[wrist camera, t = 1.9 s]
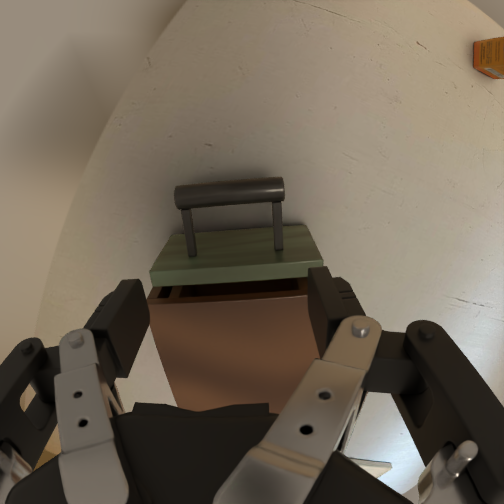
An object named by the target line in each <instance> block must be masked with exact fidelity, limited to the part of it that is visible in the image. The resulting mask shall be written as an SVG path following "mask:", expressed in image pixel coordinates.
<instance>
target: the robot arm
mask: <svg viewBox="0 0 504 504" xmlns="http://www.w3.org/2000/svg"><path fill="white" fill-rule="evenodd" d="M307 302H308V314H309V318H310V322H311V326H312V329H313V333H314V337H315V341H316V345H317V348H318V352H319V356H320V359H319V358H315V359H314V360H313V361H312V363H311V364H310V366H309V368H308V369H307V371H306V373H305V374H304V376H303V378H302V379H301V381H300V383H299V384H298V386H297V387H296V389H295V391H294V392H293V394H292V395H291V397H290V399H289V400H288V402H287V403H286V405H285V406H284V408H283V410H282V411H281V413H280V414H277V413H271V412H269V403H254V404H233V405H229V406H224V407H220V408H215V409H210V410H205V411H199V412H197V411H191V410H187V409H183V408H179V407H175V406H171V405H167V404H154V403H138V402H135V404H134V407H133V410H132V412H128V413H125V410H124V407H123V404H122V401H121V398H120V395H119V392H118V389H117V386H116V384H115V382H114V381H115V379H116V377H117V378H128V375H129V373H130V370H131V368H132V365H133V363H134V360H135V358H136V355H137V353H138V350H139V348H140V346H141V343H142V341H143V338H144V336H145V333H146V331H147V329H148V326H149V323H150V311H149V308H148V304H147V300H146V297H145V293H144V289H143V285H142V282H141V281H140V279H128V280H122V281H121V282H120V283H119V285H118V286H117V288H116V289H115V291H113V292H111V293H109V294H108V295H107V296H106V297H104V298H103V299H102V301H101V302H100V304H99V307H97V308H96V310H95V312H94V313H93V314H92V316H91V317H90V319H89V320H88V322H87V323H86V325H85V326H84V328H83V329H76V330H73V331H71V332H69V333H67V334H66V335H65V336H64V337H63V338H62V339H61V340H60V343H59V346H55V347H49V348H45V347H44V345H43V343H42V341H41V340H40V339H39V338H28V339H25V340H23V341H21V342H20V343H19V344H18V345H17V346H16V347H15V348H14V349H13V350H12V352H11V353H10V354H9V355H8V357H7V358H6V359H5V360H4V361H3V363H2V364H1V365H0V504H413V503H412V502H411V501H410V500H408V499H407V498H405V497H404V496H402V495H401V494H399V493H398V492H396V491H395V490H393V489H392V488H390V487H389V486H387V485H386V484H384V483H383V482H381V481H380V480H378V479H377V478H375V477H374V476H373V475H371V474H370V473H368V472H367V471H366V470H364V469H363V468H361V467H360V466H359V465H357V464H356V463H355V462H353V461H352V460H351V459H349V458H348V457H346V456H345V455H344V453H345V451H346V448H347V446H348V443H349V441H350V438H351V435H352V432H353V430H354V427H355V425H356V422H357V420H358V417H359V415H360V412H361V409H362V407H363V404H364V402H365V399H366V396H367V393H368V392H379V393H391V395H392V397H393V399H394V401H395V403H396V405H397V408H398V410H399V412H400V414H401V416H402V418H403V420H404V422H405V424H406V426H407V428H408V430H409V432H410V435H411V437H412V439H413V441H414V443H415V445H416V447H417V450H418V452H419V454H420V456H421V458H422V461H423V463H424V465H425V467H426V468H425V469H424V471H423V472H422V473H421V475H420V477H419V480H418V491H419V502H418V504H504V407H503V406H502V404H501V403H500V401H499V400H498V399H497V397H496V396H495V394H494V393H493V392H492V390H491V389H490V388H489V386H488V385H487V384H486V382H485V381H484V380H483V378H482V377H481V376H480V374H479V373H478V372H477V370H476V369H475V368H474V366H473V365H472V364H471V363H470V361H469V360H468V359H467V357H466V356H465V355H464V354H463V352H462V351H461V350H460V349H459V347H458V346H457V345H456V344H455V342H454V341H453V340H452V339H451V338H450V336H449V335H448V334H447V333H446V331H445V330H444V329H443V328H442V327H441V326H440V325H438V324H436V323H434V322H431V321H427V320H418V321H414V322H412V323H410V324H409V325H408V327H407V329H406V333H401V332H389V331H384V330H382V328H381V325H380V324H379V323H378V322H377V321H376V320H375V319H373V318H370V317H367V316H366V314H365V312H364V311H363V309H362V307H361V305H360V303H359V301H358V299H357V298H356V295H355V293H354V292H353V290H352V288H351V286H350V284H349V283H348V282H347V281H345V280H344V279H342V278H341V277H336V278H332V276H331V274H330V272H329V270H328V268H327V266H323V267H311V268H308V299H307ZM29 383H30V384H31V386H32V388H33V389H34V391H35V392H36V395H35V397H34V398H33V400H32V401H31V403H30V404H29V406H28V408H27V409H26V411H25V412H23V410H22V409H21V407H20V397H21V395H22V393H23V392H24V391H25V389H26V388H27V386H28V385H29ZM57 423H58V429H59V436H60V443H61V453H60V454H58V455H57V456H55V457H54V458H52V459H51V460H50V461H48V462H46V463H45V464H44V465H42V466H41V467H39V468H38V469H36V470H35V471H33V470H34V468H35V466H36V464H37V462H38V460H39V458H40V456H41V454H42V452H43V450H44V448H45V446H46V444H47V442H48V440H49V438H50V436H51V434H52V432H53V431H54V429H55V427H56V425H57Z"/></svg>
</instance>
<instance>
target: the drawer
mask: <svg viewBox="0 0 504 504" xmlns="http://www.w3.org/2000/svg"><path fill="white" fill-rule="evenodd" d="M174 199H175V204H176V207H177V209H179V210H181V209H182V210H181V214H182V220H183V227H184V233H185V234H178V235H171V236H170V238H169V240H168V241H167V243H166V245H165V246H164V248H163V250H162V251H161V253H160V255H159V256H158V258H157V260H156V261H155V263H154V265H153V266H152V268H151V270H150V271H149V273H150V277H151V282H152V286H153V287H160V286H173V288H172V290H171V293H170V295H169V298H181V297H201V296H219V295H236V294H251V293H265V292H279V291H291V290H304V289H308V280H307V277H308V268H311V267H323V258H322V256H321V254H320V252H319V250H318V248H317V246H316V244H315V242H314V240H313V238H312V236H311V234H310V232H309V230H308V228H307V226H306V225H296V226H282V206H281V201H284V199H285V190H284V181H283V178H282V177H269V178H254V179H241V180H229V181H218V182H208V183H198V184H188V185H180V186H176V187H175V191H174ZM263 202H272V216H273V227H267V228H253V229H240V230H227V231H214V232H202V233H194V226H193V219H192V212H191V208H202V207H213V206H225V205H237V204H250V203H263Z"/></svg>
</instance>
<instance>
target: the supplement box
mask: <svg viewBox="0 0 504 504" xmlns="http://www.w3.org/2000/svg"><path fill="white" fill-rule="evenodd" d="M474 68H475V69H477V70H479V71H481V72H483V73H485V74H486V75H488V76H490V77H492V78H493V79H504V37H498V38H493V39H487V40H482V41H477V42H474Z"/></svg>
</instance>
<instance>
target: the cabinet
mask: <svg viewBox="0 0 504 504" xmlns="http://www.w3.org/2000/svg"><path fill="white" fill-rule="evenodd" d="M307 280H308V277H307ZM172 288H173V286H160V287H153V288H152V290H151V292H150V294H149V296H148V298H147V304H148V308H149V311H150V323H149V324H150V328H151V331H152V334H153V337H154V341H155V344H156V347H157V350H158V353H159V356H160V359H161V362H162V365H163V368H164V371H165V374H166V376H167V379H168V382H169V385H170V387H171V390H172V393H173V396H174V398H175V401H176V403H177V406H178V407H179V408H183V409H187V410H191V411H197V412H199V411H205V410H210V409H215V408H220V407H224V406H229V405H233V404H254V403H269V412H271V413H277V414H280V413H281V411H282V410H283V408H284V406H285V405H286V403H287V402H288V400H289V399H290V397H291V395H292V394H293V392H294V391H295V389H296V387H297V386H298V384H299V383H300V381H301V379H302V378H303V376H304V374H305V373H306V371H307V369H308V368H309V366H310V364H311V363H312V361H313V360H314V359H315V358H319V359H320V356H319V352H318V348H317V345H316V341H315V337H314V333H313V329H312V326H311V322H310V318H309V314H308V302H307V299H308V289H304V290H291V291H279V292H265V293H251V294H236V295H219V296H201V297H181V298H169V295H170V293H171V290H172Z"/></svg>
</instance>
